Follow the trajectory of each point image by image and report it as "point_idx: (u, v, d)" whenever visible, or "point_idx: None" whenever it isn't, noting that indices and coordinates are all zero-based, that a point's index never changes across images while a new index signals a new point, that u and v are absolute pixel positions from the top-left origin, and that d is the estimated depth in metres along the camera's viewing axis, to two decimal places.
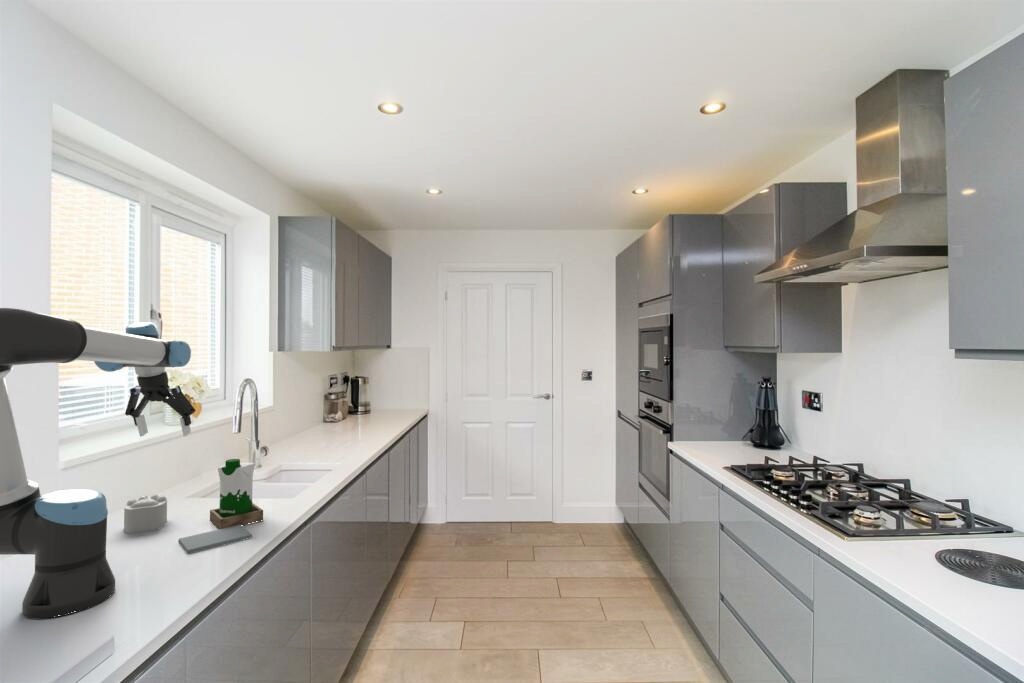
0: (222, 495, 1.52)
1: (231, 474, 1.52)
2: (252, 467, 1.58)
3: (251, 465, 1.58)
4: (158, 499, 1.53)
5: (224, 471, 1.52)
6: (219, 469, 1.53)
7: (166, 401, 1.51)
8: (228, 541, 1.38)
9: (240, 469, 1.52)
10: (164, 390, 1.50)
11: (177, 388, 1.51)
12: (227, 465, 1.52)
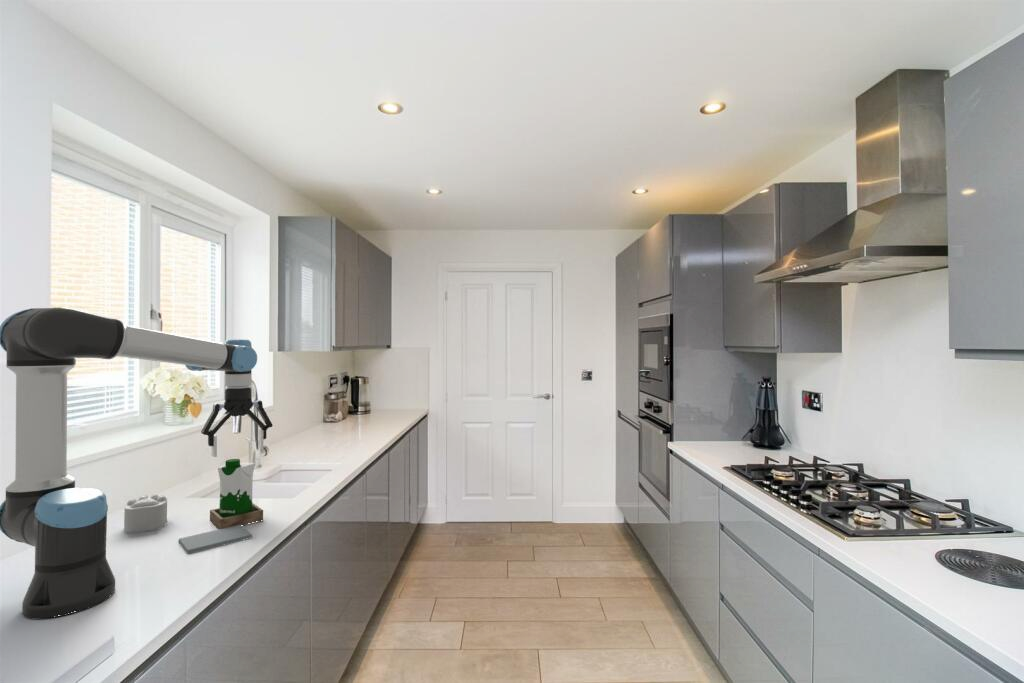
0: (222, 495, 1.52)
1: (231, 474, 1.52)
2: (252, 467, 1.58)
3: (251, 465, 1.58)
4: (158, 499, 1.53)
5: (224, 471, 1.52)
6: (219, 469, 1.53)
7: (252, 414, 1.58)
8: (228, 541, 1.38)
9: (240, 469, 1.52)
10: (251, 403, 1.58)
11: None
12: (227, 465, 1.52)
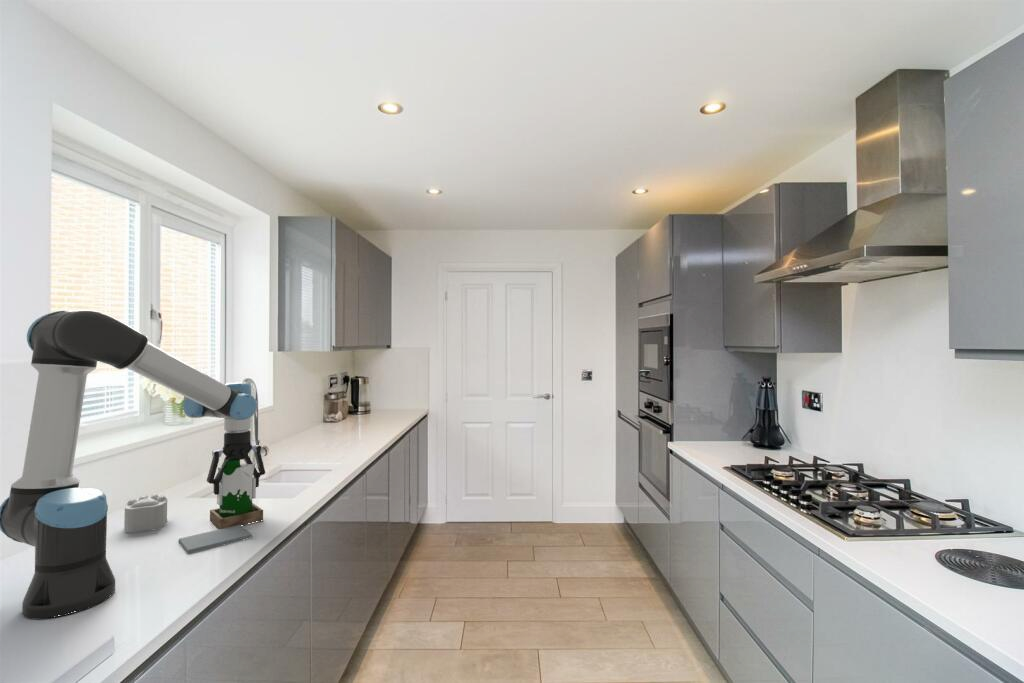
0: (222, 495, 1.52)
1: (231, 474, 1.52)
2: (252, 467, 1.58)
3: (251, 465, 1.58)
4: (158, 499, 1.53)
5: (224, 471, 1.52)
6: (219, 469, 1.53)
7: (248, 459, 1.57)
8: (228, 541, 1.38)
9: (240, 469, 1.52)
10: (250, 447, 1.58)
11: None
12: (227, 465, 1.52)
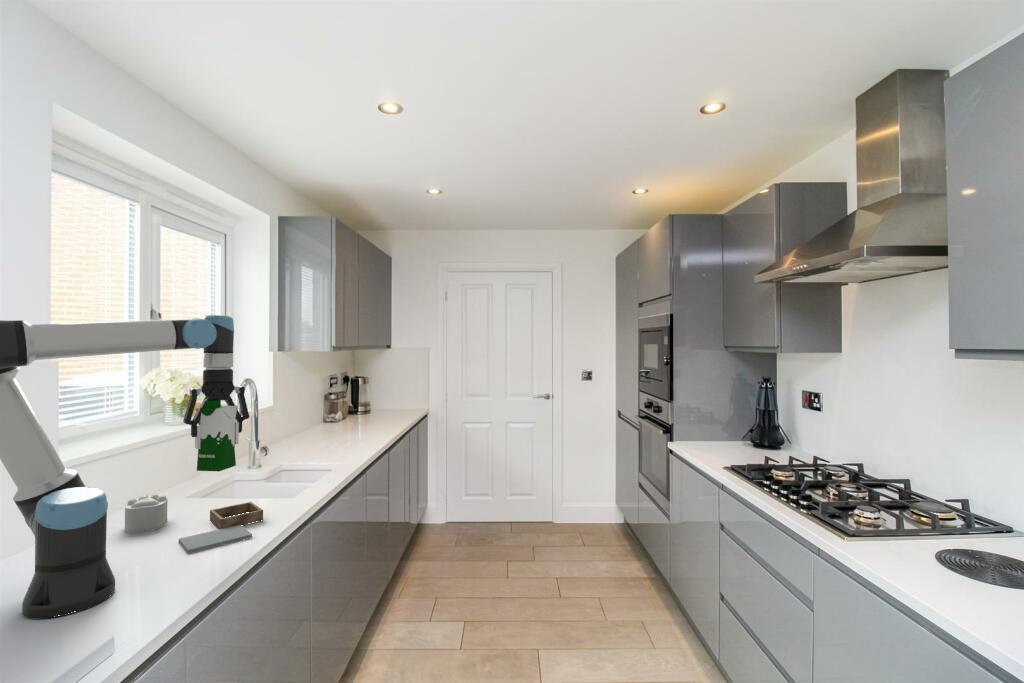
0: None
1: (210, 415, 1.37)
2: (234, 409, 1.43)
3: (233, 407, 1.43)
4: (158, 499, 1.53)
5: (203, 412, 1.37)
6: (197, 409, 1.38)
7: (230, 400, 1.42)
8: (228, 541, 1.38)
9: (220, 409, 1.37)
10: (232, 387, 1.43)
11: None
12: (206, 405, 1.37)
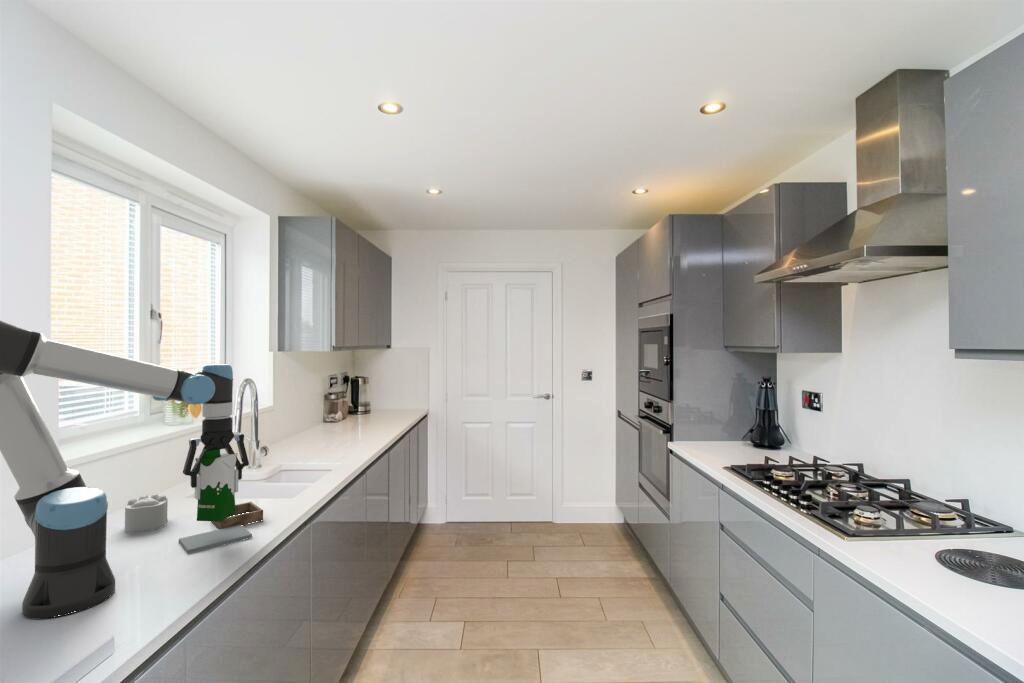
0: (200, 488, 1.37)
1: (209, 465, 1.37)
2: (234, 457, 1.43)
3: (233, 455, 1.42)
4: (159, 498, 1.53)
5: (202, 462, 1.37)
6: (197, 459, 1.37)
7: (230, 449, 1.42)
8: (228, 541, 1.38)
9: (220, 459, 1.37)
10: (231, 435, 1.43)
11: None
12: (205, 455, 1.37)
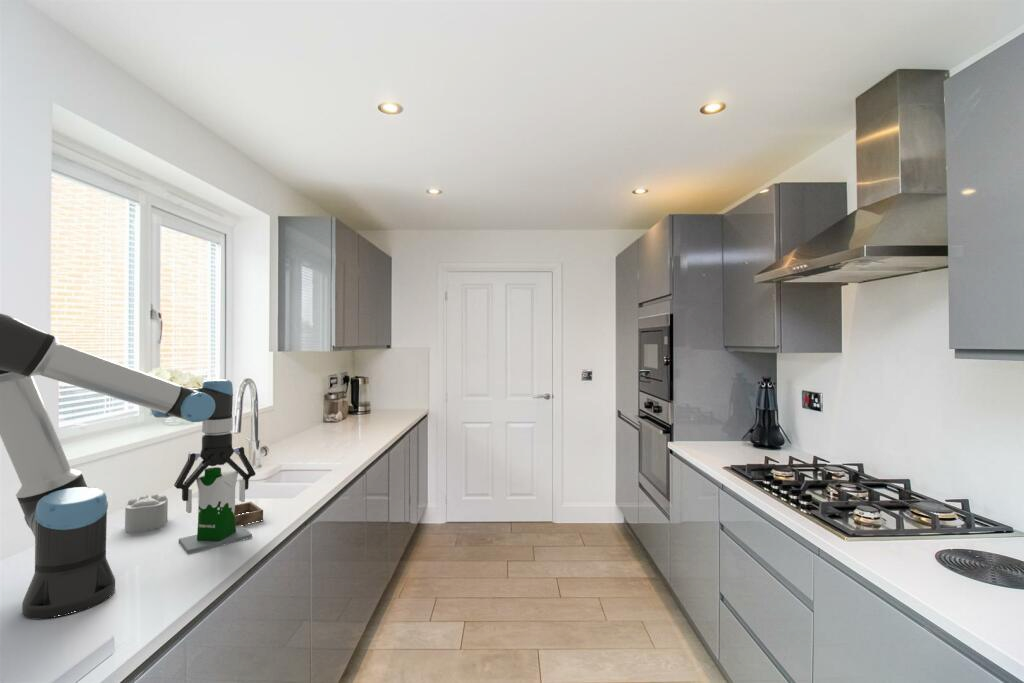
0: (201, 508, 1.37)
1: (210, 484, 1.37)
2: (235, 476, 1.43)
3: (234, 474, 1.43)
4: (159, 498, 1.53)
5: (203, 481, 1.37)
6: (197, 479, 1.37)
7: (232, 462, 1.43)
8: (228, 541, 1.38)
9: (221, 479, 1.37)
10: (231, 450, 1.43)
11: None
12: (206, 474, 1.37)
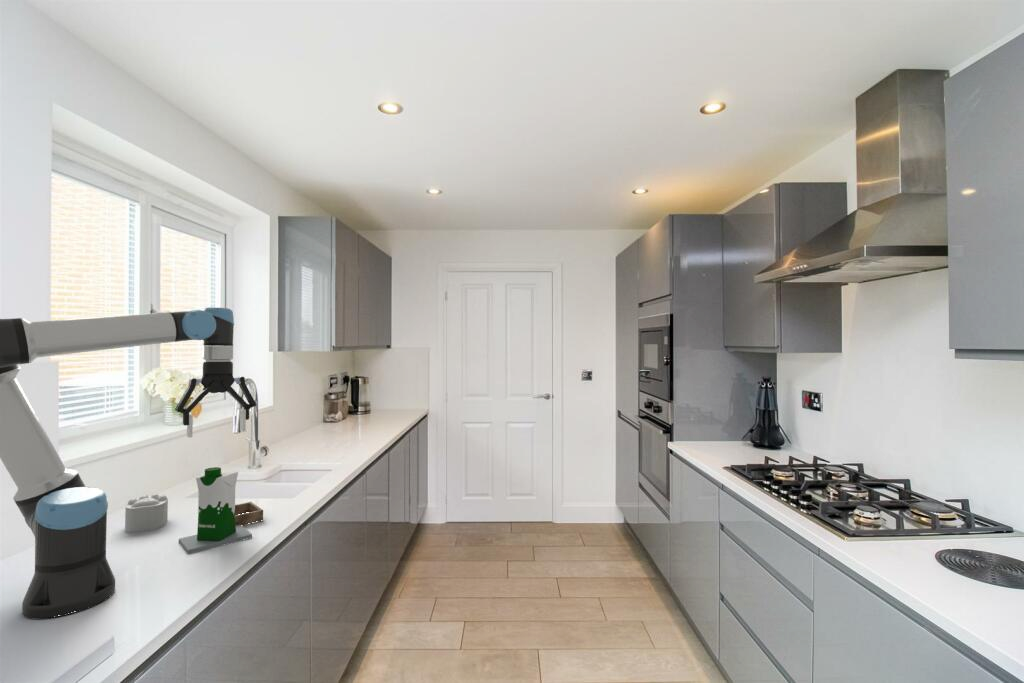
0: (201, 508, 1.37)
1: (210, 484, 1.37)
2: (235, 476, 1.43)
3: (234, 474, 1.43)
4: (159, 498, 1.54)
5: (203, 481, 1.37)
6: (197, 479, 1.37)
7: (233, 391, 1.43)
8: (228, 541, 1.38)
9: (221, 479, 1.37)
10: (232, 379, 1.43)
11: None
12: (206, 474, 1.37)
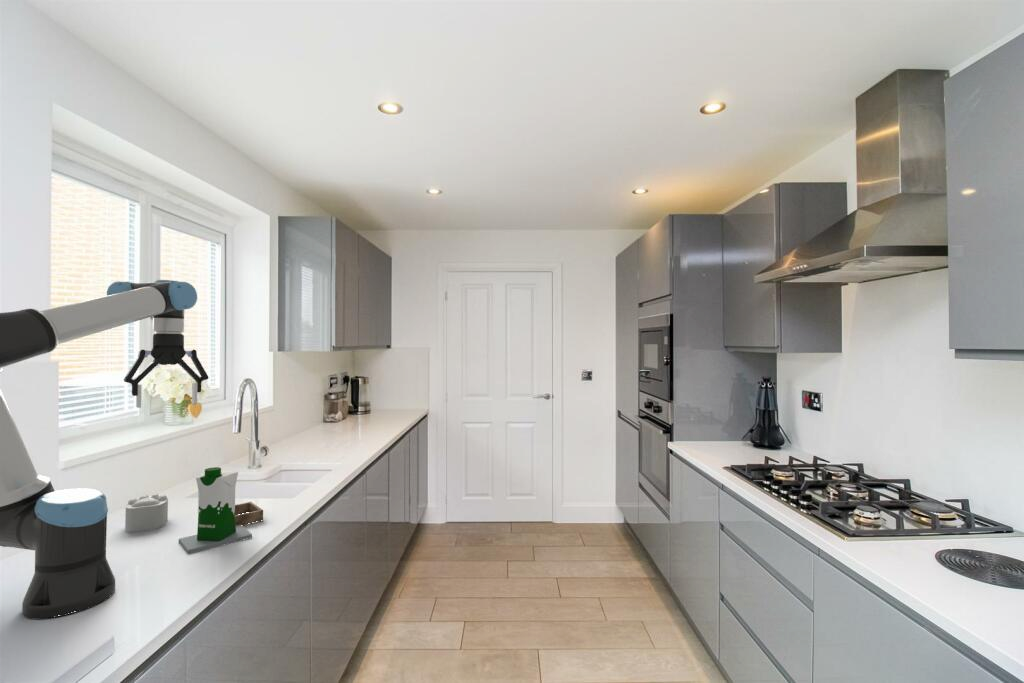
0: (201, 508, 1.37)
1: (210, 484, 1.37)
2: (235, 476, 1.43)
3: (234, 474, 1.43)
4: (159, 498, 1.54)
5: (203, 481, 1.37)
6: (197, 479, 1.37)
7: (184, 363, 1.44)
8: (228, 541, 1.38)
9: (221, 479, 1.37)
10: (183, 352, 1.45)
11: None
12: (206, 474, 1.37)
